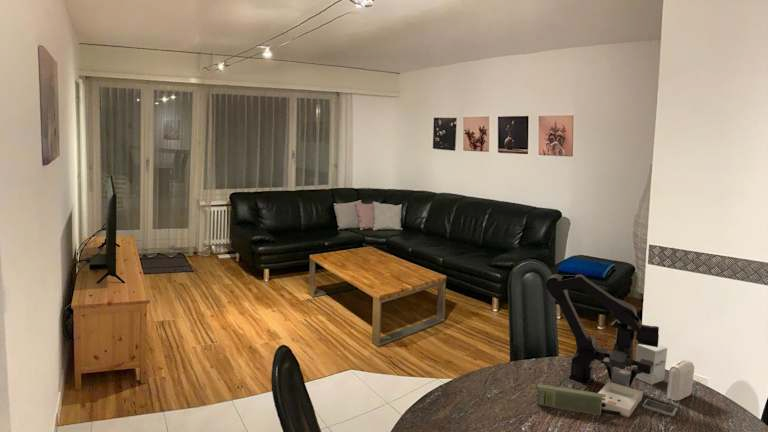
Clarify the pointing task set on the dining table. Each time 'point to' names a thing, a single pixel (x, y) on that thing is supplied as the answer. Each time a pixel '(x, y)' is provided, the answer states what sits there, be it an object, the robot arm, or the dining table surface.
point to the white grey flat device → (620, 398)
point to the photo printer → (680, 380)
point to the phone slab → (659, 407)
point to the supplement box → (657, 358)
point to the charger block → (621, 377)
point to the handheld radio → (572, 400)
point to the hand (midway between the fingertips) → (620, 383)
